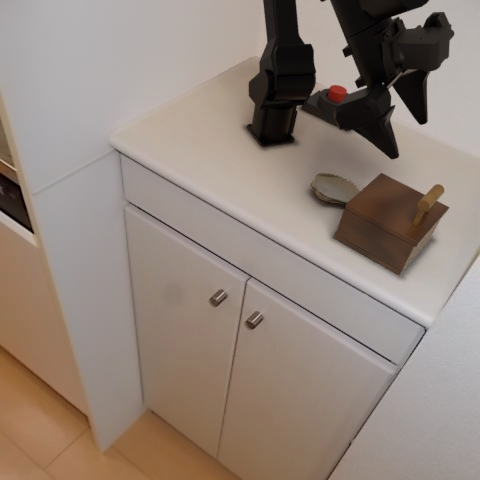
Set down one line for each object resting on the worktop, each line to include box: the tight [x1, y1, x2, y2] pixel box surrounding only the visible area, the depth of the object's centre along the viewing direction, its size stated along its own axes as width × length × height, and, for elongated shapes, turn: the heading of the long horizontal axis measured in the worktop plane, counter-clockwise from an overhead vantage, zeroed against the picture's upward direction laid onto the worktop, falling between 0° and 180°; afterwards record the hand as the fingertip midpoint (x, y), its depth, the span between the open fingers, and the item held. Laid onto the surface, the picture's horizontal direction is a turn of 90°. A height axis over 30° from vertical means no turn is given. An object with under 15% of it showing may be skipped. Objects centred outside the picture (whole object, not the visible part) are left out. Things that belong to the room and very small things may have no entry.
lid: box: [344, 172, 450, 247], centre depth 70 cm, size 11×11×5 cm
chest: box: [333, 208, 442, 276], centre depth 74 cm, size 11×11×5 cm
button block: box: [300, 87, 349, 132], centre depth 97 cm, size 10×6×4 cm, turn 54°
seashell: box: [309, 172, 361, 205], centre depth 80 cm, size 8×3×8 cm
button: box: [327, 84, 348, 102], centre depth 95 cm, size 3×3×2 cm
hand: (410, 140), depth 71 cm, fingers open, 9 cm apart
